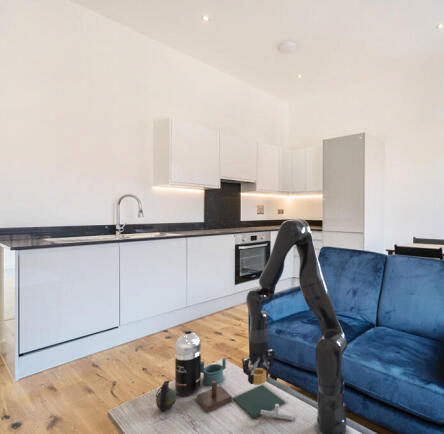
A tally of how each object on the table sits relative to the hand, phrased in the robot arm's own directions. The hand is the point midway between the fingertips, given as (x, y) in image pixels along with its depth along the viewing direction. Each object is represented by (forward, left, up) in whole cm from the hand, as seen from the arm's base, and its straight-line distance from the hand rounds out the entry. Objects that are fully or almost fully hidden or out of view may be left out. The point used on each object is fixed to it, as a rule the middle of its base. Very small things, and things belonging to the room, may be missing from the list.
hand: (258, 380), depth 121 cm
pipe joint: (-13, 0, -8) cm, 15 cm away
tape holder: (+12, +13, -8) cm, 19 cm away
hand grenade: (+19, +29, -9) cm, 36 cm away
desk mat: (0, 0, -8) cm, 8 cm away
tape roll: (0, 0, 0) cm, 0 cm away
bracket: (+26, +7, -9) cm, 28 cm away
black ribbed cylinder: (+26, +18, -9) cm, 33 cm away
